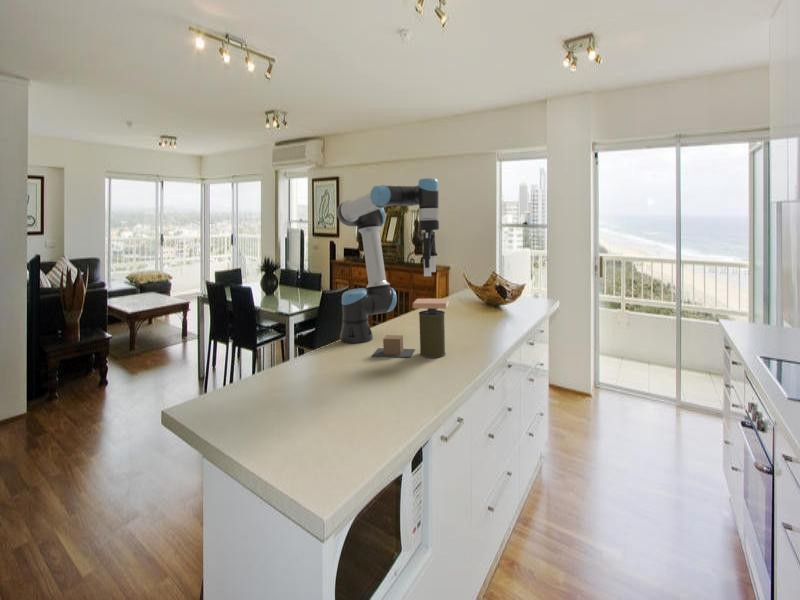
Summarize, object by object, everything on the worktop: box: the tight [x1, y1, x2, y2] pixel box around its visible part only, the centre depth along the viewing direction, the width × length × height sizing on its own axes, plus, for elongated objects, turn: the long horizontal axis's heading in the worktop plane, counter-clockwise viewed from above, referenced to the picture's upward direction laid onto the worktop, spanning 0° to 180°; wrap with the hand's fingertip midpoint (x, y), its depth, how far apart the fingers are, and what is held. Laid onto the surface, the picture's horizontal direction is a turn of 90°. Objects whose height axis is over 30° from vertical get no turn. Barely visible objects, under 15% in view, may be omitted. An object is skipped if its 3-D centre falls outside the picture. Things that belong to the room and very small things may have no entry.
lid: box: [412, 298, 450, 310], centre depth 172 cm, size 13×11×2 cm
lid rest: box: [371, 334, 416, 359], centre depth 178 cm, size 16×11×7 cm
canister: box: [418, 308, 446, 359], centre depth 174 cm, size 11×10×20 cm
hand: (430, 274), depth 171 cm, fingers open, 13 cm apart
